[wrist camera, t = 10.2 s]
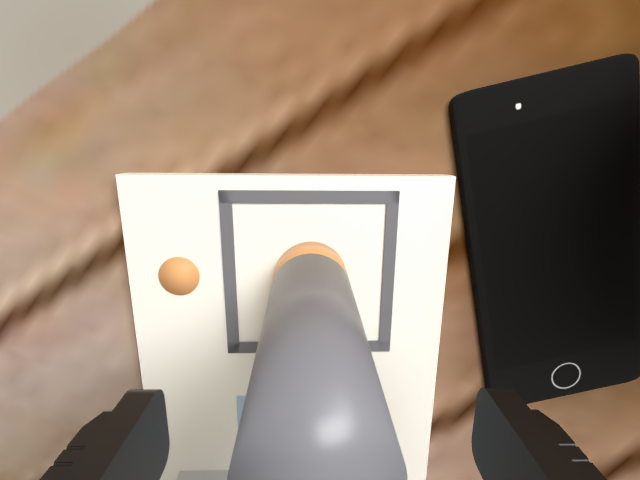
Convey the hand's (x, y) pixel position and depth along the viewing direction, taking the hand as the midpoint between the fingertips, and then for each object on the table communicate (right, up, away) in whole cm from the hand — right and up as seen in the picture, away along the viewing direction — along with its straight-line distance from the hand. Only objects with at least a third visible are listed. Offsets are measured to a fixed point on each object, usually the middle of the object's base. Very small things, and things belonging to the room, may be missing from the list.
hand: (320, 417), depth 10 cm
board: (-2, -4, +12) cm, 13 cm away
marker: (0, +3, +9) cm, 10 cm away
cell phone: (+12, +4, +11) cm, 17 cm away
